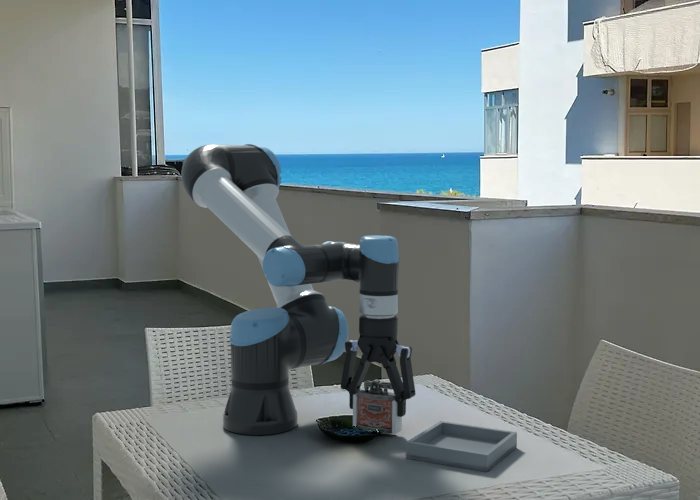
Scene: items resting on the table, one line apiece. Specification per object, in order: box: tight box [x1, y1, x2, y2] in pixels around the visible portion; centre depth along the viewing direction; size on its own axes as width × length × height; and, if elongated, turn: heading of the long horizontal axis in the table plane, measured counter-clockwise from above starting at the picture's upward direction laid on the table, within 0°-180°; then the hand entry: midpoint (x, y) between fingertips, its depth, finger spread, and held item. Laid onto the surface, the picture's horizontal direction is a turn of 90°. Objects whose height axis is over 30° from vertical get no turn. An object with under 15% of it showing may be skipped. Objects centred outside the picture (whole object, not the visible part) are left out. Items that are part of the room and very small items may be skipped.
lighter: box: [357, 378, 396, 435], centre depth 183 cm, size 8×3×10 cm, turn 68°
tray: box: [405, 420, 518, 473], centre depth 172 cm, size 16×16×3 cm
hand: (377, 428), depth 184 cm, fingers closed on lighter, 8 cm apart
